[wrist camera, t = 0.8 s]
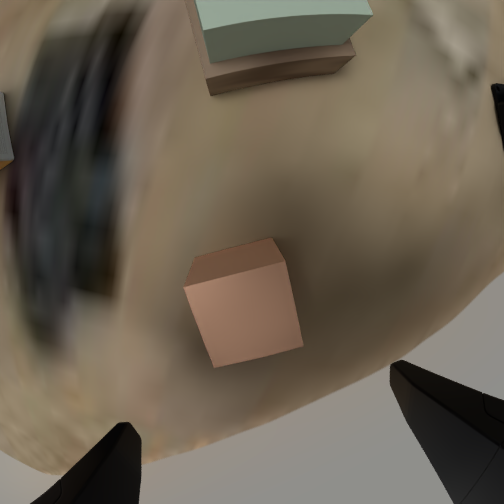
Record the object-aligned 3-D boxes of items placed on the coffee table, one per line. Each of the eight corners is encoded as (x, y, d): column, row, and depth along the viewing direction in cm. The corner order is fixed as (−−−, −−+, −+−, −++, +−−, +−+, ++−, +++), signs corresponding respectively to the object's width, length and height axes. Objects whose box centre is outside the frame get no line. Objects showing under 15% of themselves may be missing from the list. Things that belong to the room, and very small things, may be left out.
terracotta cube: (271, 236, 19) (285, 260, 14) (287, 306, 20) (303, 346, 16) (194, 257, 19) (183, 287, 14) (216, 324, 20) (214, 367, 16)
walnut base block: (298, -18, 14) (311, -48, 10) (332, 74, 16) (355, 55, 13) (185, 0, 14) (176, -31, 10) (210, 97, 17) (205, 78, 13)
